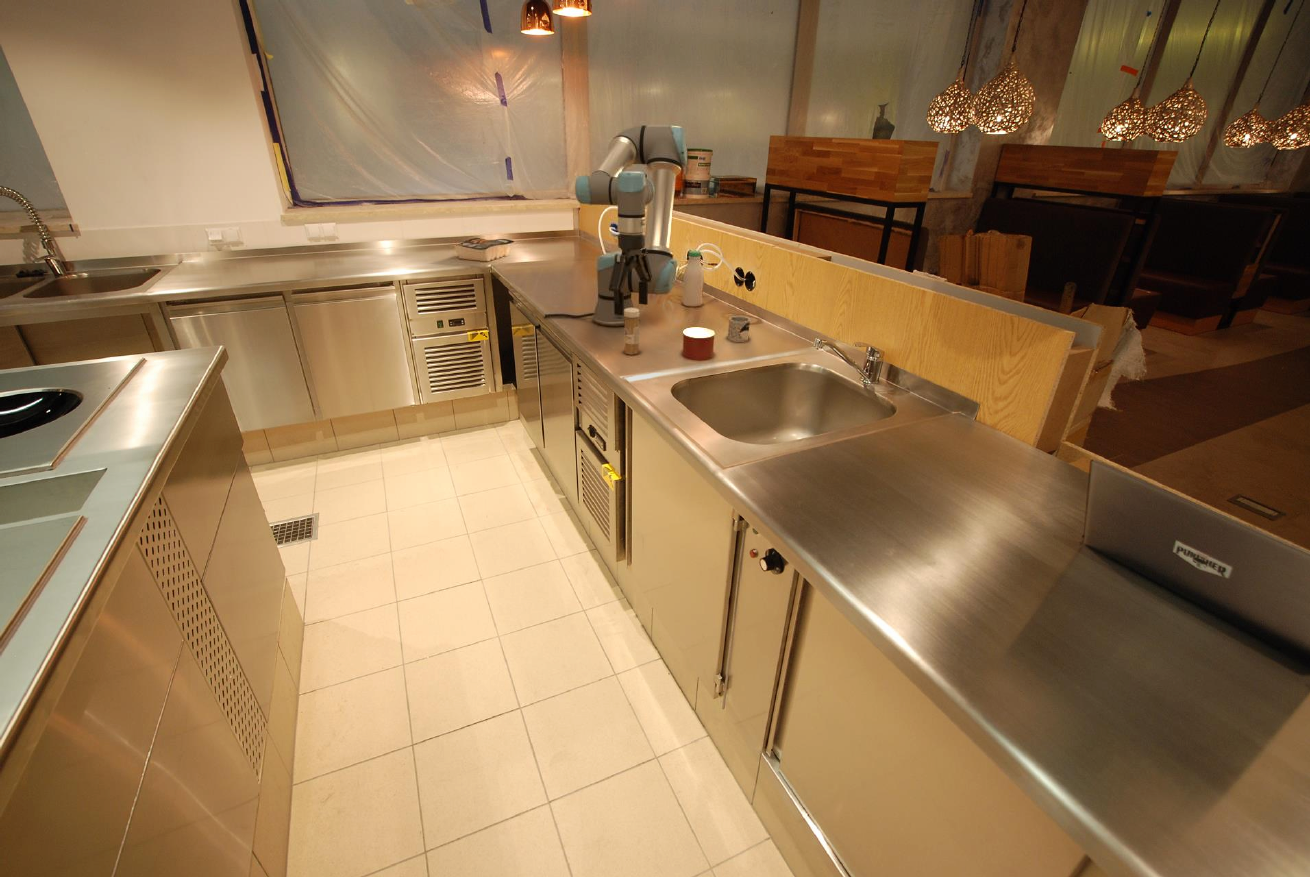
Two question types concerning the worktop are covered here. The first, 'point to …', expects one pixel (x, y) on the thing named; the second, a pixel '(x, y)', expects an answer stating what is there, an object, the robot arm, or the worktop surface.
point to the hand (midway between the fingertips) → (631, 309)
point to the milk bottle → (693, 280)
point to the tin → (698, 343)
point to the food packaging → (483, 249)
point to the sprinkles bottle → (631, 331)
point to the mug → (738, 329)
